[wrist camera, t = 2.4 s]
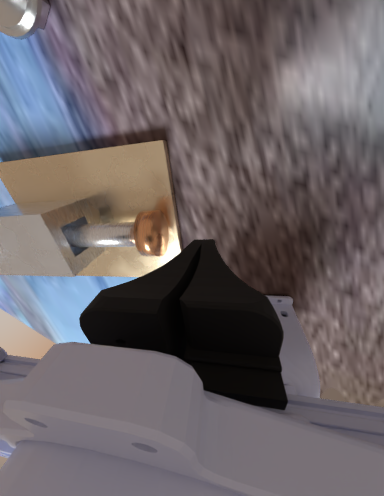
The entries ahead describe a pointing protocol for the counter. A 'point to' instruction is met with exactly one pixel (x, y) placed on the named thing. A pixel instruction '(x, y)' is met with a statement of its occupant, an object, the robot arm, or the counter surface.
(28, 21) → the screw
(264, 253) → the counter surface
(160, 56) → the counter surface
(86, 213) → the bearing block
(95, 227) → the shaft
